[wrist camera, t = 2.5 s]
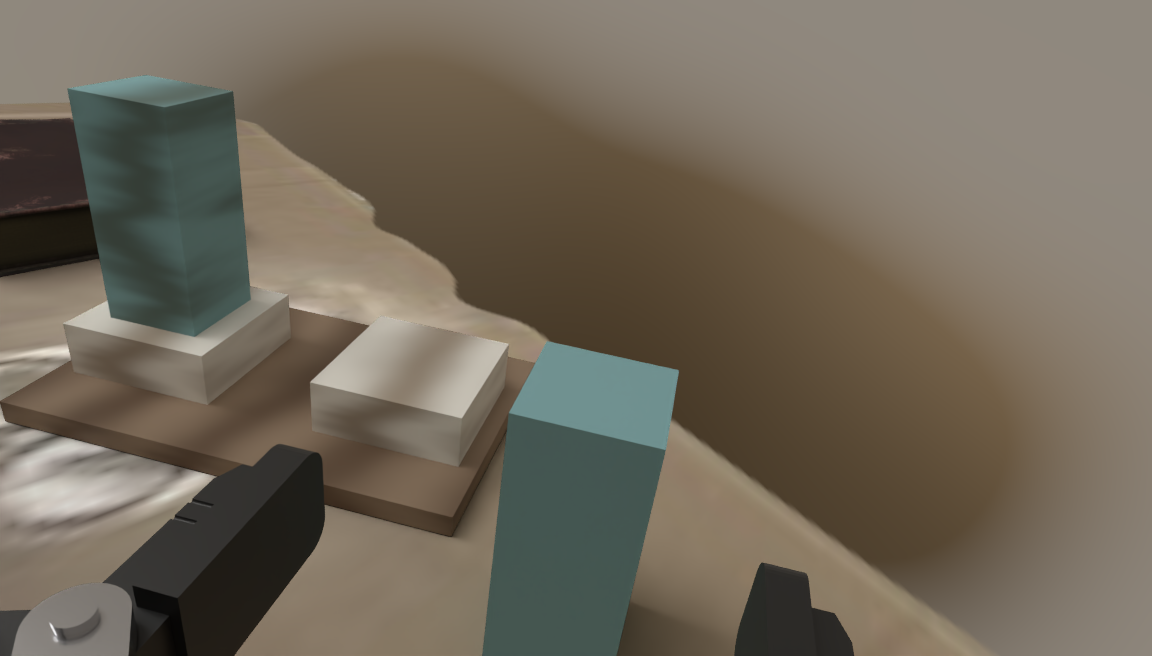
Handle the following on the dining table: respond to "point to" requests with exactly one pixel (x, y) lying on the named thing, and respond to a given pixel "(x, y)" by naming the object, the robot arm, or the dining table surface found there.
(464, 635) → the dining table surface
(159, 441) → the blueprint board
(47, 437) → the dining table surface
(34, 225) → the diary
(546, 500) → the teal pillar
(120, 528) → the dining table surface
